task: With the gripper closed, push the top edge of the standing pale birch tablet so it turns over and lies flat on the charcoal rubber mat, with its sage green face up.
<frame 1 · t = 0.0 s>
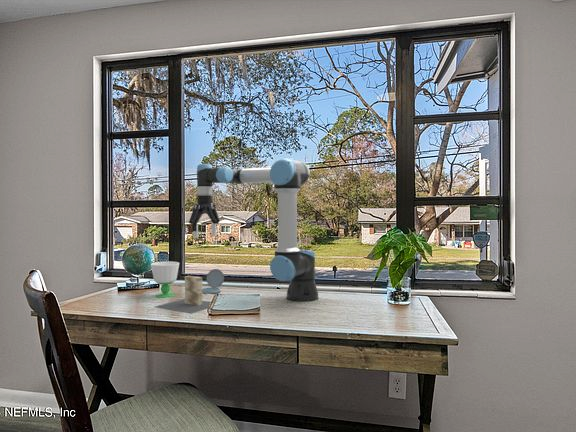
hand: (205, 237, 220), 28 cm above the table, tool pointing down, fingers open, 13 cm apart
grey upright round piece: (210, 293, 220), on the table
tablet: (193, 303, 192), point 1 cm above the table, touching mat
cup: (165, 295, 212), on the table
mat: (188, 306, 190), on the table
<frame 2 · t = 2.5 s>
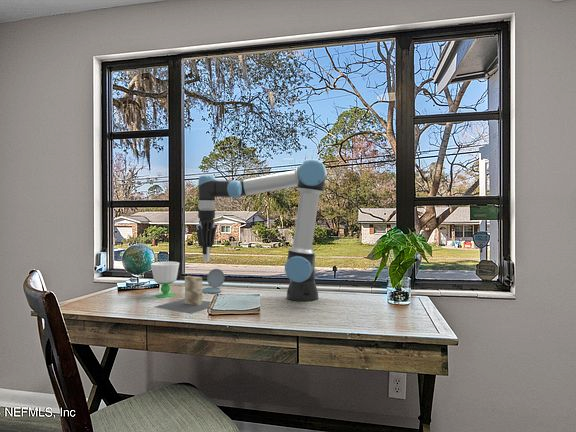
hand: (206, 261, 199), 19 cm above the table, tool pointing down, fingers closed
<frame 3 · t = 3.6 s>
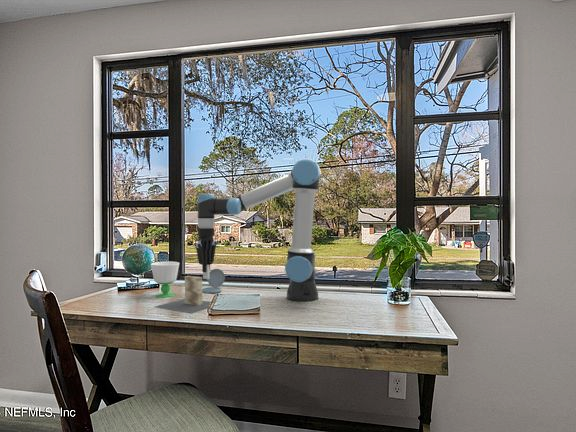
hand: (206, 278, 199), 10 cm above the table, tool pointing down, fingers closed
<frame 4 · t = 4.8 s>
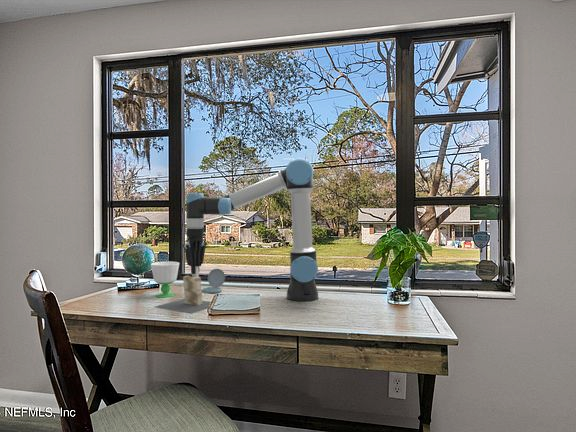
hand: (195, 280, 193), 11 cm above the table, tool pointing down, fingers closed
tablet: (193, 303, 192), point 1 cm above the table, touching gripper, mat
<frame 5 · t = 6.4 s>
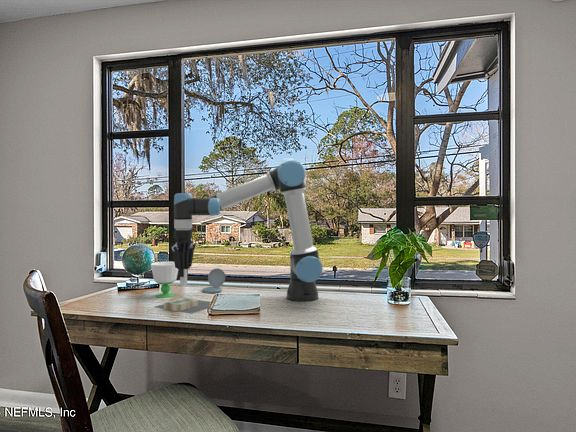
hand: (183, 284, 187), 10 cm above the table, tool pointing down, fingers closed
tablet: (191, 301, 191), point 2 cm above the table, tilted 90°, touching mat
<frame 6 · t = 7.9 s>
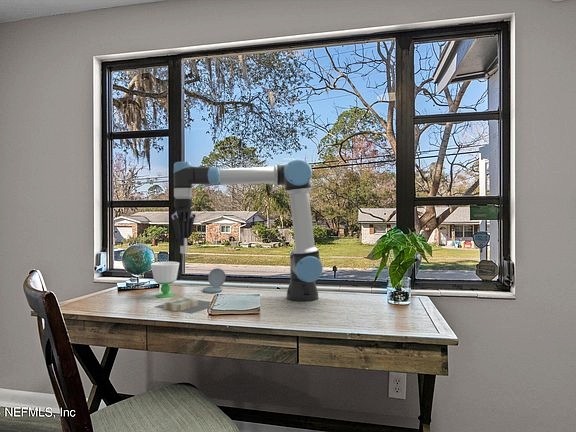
hand: (183, 253, 186), 24 cm above the table, tool pointing down, fingers closed
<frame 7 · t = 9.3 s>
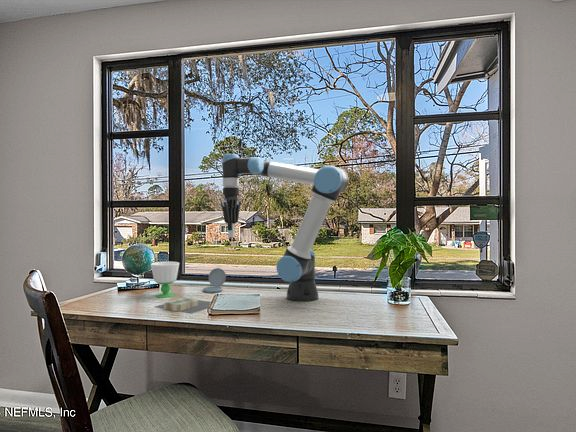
hand: (231, 237, 205), 29 cm above the table, tool pointing down, fingers closed
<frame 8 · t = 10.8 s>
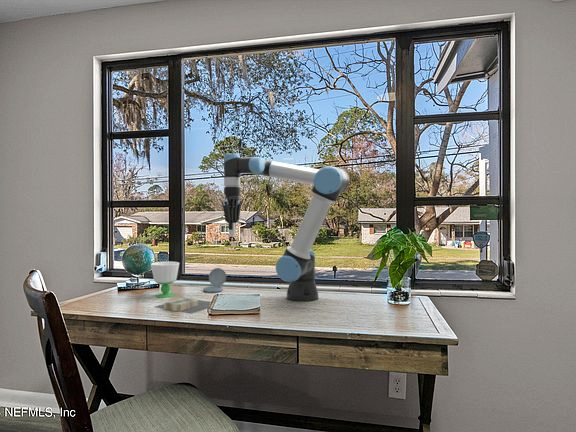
hand: (232, 236, 205), 29 cm above the table, tool pointing down, fingers closed
at the end: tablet tilted 90°; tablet inside the target area on the mat (2.1 cm from its centre), point 1.8 cm above the mat's base; the gripper is holding nothing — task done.
